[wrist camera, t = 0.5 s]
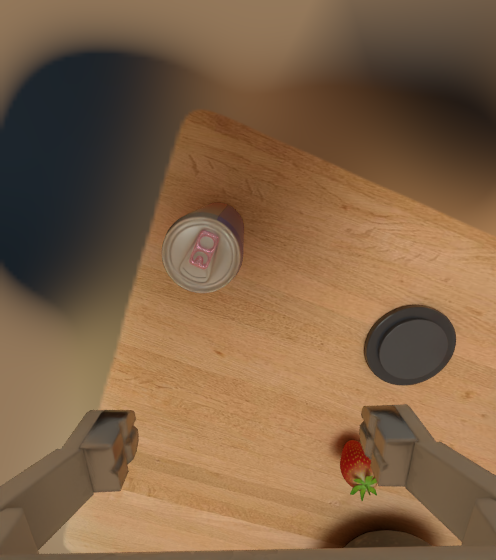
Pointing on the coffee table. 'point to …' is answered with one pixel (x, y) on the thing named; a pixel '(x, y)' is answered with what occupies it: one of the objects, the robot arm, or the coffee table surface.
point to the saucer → (410, 345)
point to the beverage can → (204, 248)
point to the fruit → (357, 469)
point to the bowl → (386, 540)
